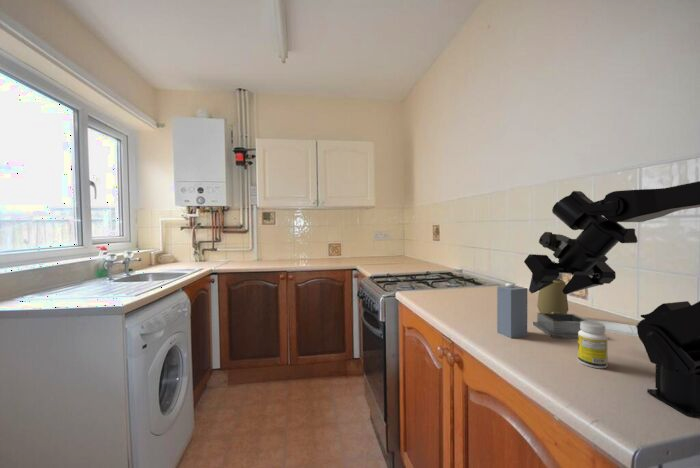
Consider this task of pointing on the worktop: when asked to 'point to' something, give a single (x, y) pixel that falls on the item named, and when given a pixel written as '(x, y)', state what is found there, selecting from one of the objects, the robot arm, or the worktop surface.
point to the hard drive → (617, 327)
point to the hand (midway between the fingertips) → (547, 292)
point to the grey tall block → (512, 310)
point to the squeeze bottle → (553, 297)
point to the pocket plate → (559, 324)
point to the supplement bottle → (592, 344)
